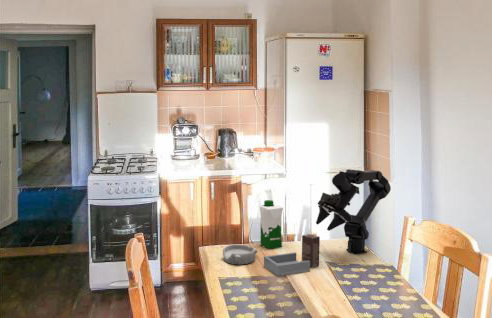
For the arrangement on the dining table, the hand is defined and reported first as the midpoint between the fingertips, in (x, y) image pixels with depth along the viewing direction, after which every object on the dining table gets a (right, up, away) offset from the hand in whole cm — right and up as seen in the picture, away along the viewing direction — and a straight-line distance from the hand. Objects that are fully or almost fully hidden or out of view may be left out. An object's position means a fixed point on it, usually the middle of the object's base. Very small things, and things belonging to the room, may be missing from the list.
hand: (322, 227), depth 231 cm
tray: (-15, -15, -10) cm, 23 cm away
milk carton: (-20, -11, +20) cm, 30 cm away
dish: (-34, -14, +1) cm, 37 cm away
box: (-5, -15, -6) cm, 17 cm away
